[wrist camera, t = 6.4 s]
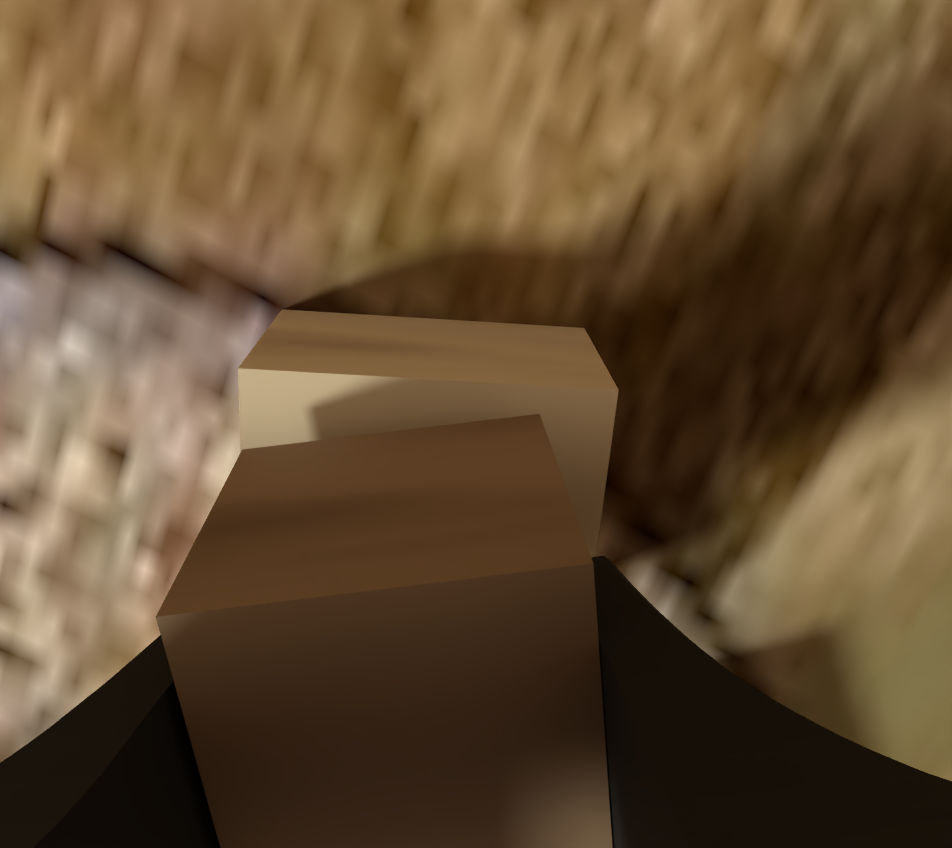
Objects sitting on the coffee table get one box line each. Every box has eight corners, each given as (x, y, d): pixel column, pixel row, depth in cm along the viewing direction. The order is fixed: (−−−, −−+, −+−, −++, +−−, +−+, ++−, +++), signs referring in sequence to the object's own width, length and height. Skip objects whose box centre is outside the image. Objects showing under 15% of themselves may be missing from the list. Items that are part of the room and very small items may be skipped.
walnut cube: (561, 661, 15) (614, 886, 11) (296, 694, 15) (244, 934, 10) (539, 414, 13) (594, 563, 9) (242, 449, 13) (156, 617, 9)
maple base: (553, 582, 20) (576, 697, 16) (286, 570, 19) (248, 685, 16) (582, 325, 18) (618, 390, 14) (283, 307, 17) (238, 368, 14)
